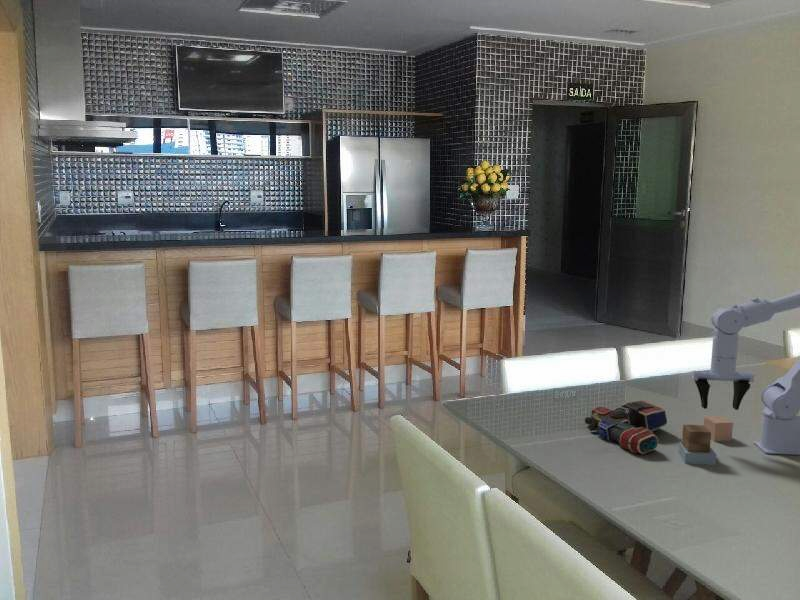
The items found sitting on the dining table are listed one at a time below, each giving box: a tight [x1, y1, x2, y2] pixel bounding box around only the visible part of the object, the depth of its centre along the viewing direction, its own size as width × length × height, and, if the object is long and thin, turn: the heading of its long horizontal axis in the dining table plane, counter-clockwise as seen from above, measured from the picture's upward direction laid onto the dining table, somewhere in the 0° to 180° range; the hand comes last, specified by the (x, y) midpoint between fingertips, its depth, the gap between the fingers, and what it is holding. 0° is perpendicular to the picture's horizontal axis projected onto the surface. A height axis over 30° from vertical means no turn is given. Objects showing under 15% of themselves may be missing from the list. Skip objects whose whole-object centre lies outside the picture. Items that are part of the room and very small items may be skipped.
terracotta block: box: [703, 415, 734, 442], centre depth 188 cm, size 5×5×5 cm
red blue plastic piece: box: [584, 399, 668, 455], centre depth 188 cm, size 8×25×20 cm
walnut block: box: [681, 424, 712, 452], centre depth 173 cm, size 5×5×5 cm
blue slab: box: [678, 442, 718, 466], centre depth 173 cm, size 7×7×3 cm
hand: (719, 408), depth 181 cm, fingers open, 7 cm apart
